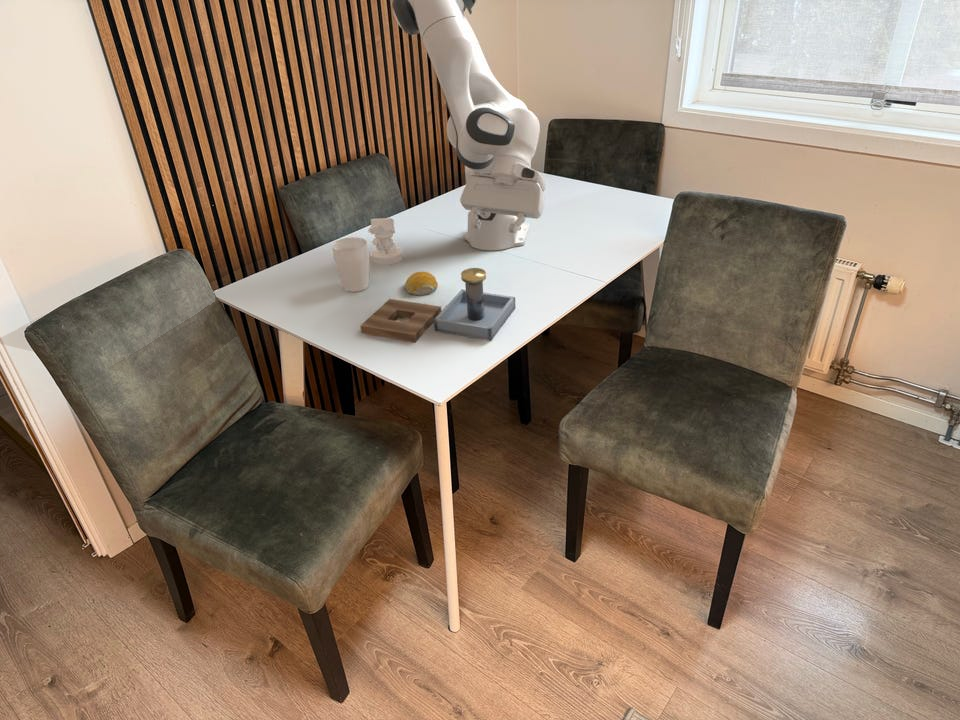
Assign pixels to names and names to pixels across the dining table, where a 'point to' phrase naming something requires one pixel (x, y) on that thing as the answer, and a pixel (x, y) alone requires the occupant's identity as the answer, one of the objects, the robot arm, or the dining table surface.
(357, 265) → the cup
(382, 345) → the dining table surface
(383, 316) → the socket block
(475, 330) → the tray
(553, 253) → the dining table surface
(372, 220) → the character figurine
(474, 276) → the pin
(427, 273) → the bread roll
